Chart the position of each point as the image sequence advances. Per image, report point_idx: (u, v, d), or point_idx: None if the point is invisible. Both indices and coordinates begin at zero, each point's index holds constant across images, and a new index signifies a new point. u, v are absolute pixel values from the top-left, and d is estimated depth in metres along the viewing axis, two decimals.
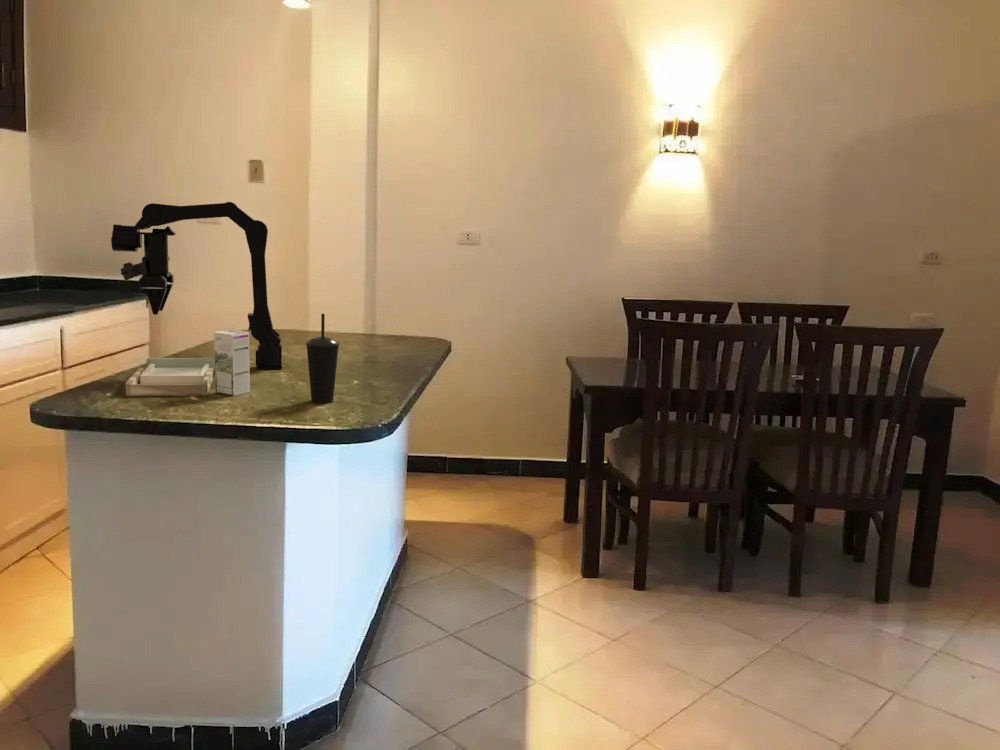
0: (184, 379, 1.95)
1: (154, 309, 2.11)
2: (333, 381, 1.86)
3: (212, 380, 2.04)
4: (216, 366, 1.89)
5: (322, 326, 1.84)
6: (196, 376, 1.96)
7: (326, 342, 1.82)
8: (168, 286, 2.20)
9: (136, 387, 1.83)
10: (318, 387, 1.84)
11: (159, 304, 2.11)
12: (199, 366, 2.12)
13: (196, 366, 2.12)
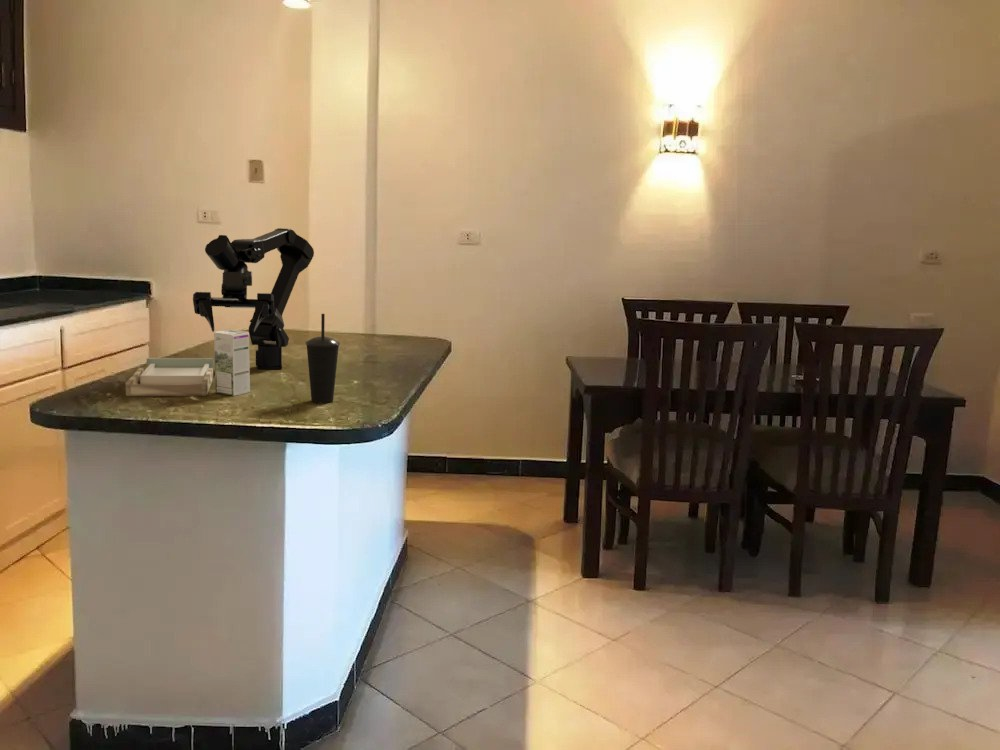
0: (184, 379, 1.95)
1: (256, 325, 1.99)
2: (333, 381, 1.86)
3: (212, 380, 2.04)
4: (216, 366, 1.89)
5: (322, 326, 1.84)
6: (196, 376, 1.96)
7: (326, 342, 1.82)
8: None
9: (136, 387, 1.83)
10: (319, 387, 1.84)
11: (257, 325, 2.01)
12: (199, 366, 2.12)
13: (196, 366, 2.12)
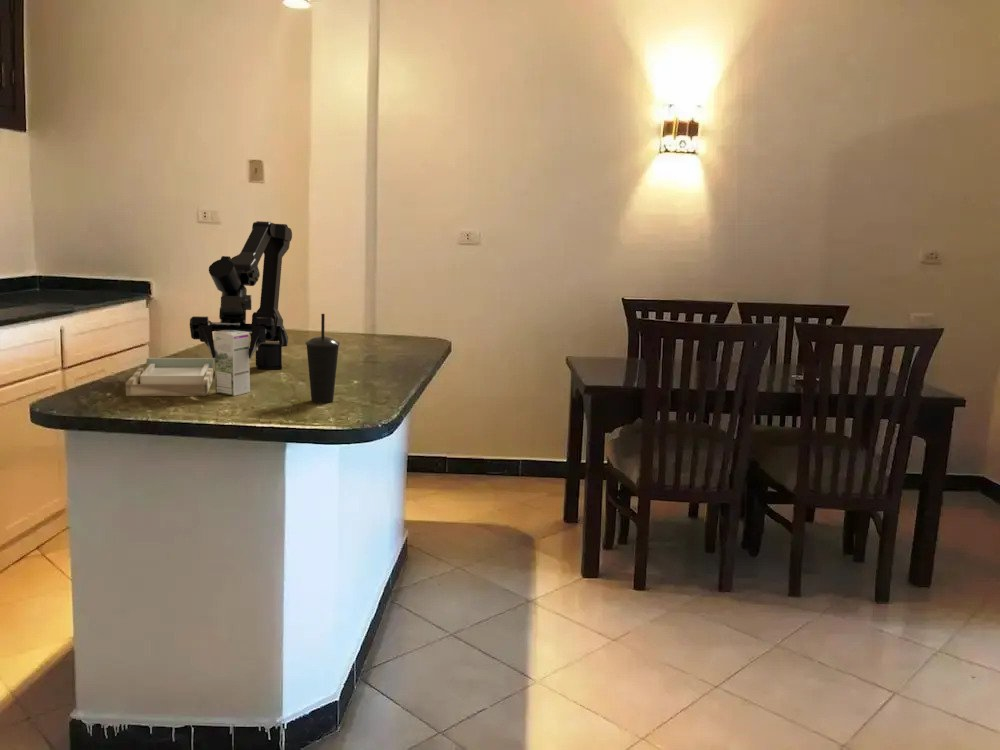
0: (184, 379, 1.95)
1: (252, 351, 1.91)
2: (333, 381, 1.86)
3: (212, 380, 2.04)
4: (216, 366, 1.89)
5: (322, 326, 1.84)
6: (196, 376, 1.96)
7: (326, 342, 1.82)
8: None
9: (136, 387, 1.83)
10: (318, 387, 1.84)
11: (254, 350, 1.93)
12: (199, 366, 2.12)
13: (196, 366, 2.12)
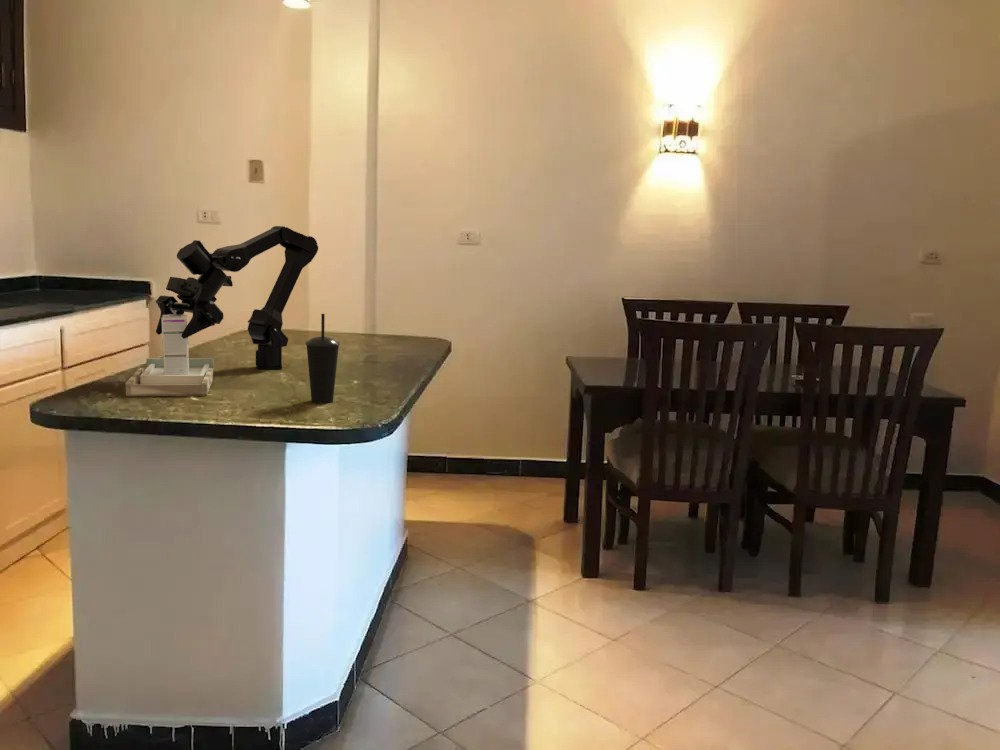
0: (184, 379, 1.95)
1: (187, 332, 1.96)
2: (333, 381, 1.86)
3: (212, 380, 2.04)
4: None
5: (322, 326, 1.84)
6: (196, 376, 1.96)
7: (326, 342, 1.82)
8: None
9: (136, 387, 1.83)
10: (318, 387, 1.84)
11: (194, 332, 1.98)
12: (199, 366, 2.12)
13: (196, 366, 2.11)
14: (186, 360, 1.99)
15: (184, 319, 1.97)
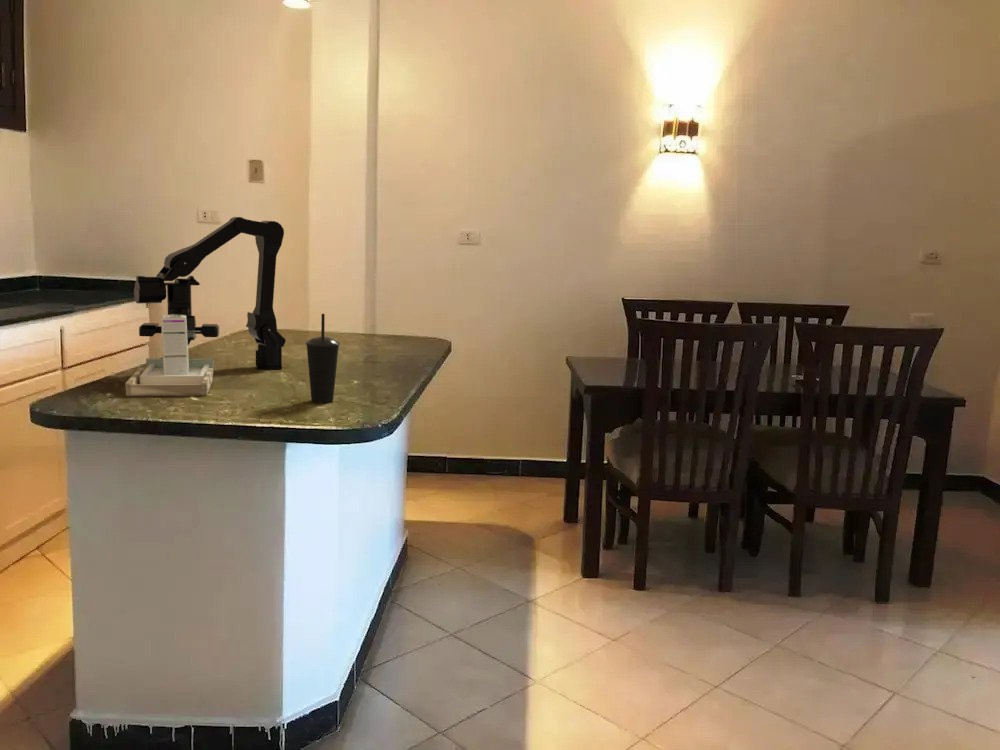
0: (184, 380, 1.95)
1: None
2: (333, 381, 1.86)
3: (212, 380, 2.04)
4: None
5: (322, 326, 1.84)
6: (196, 376, 1.95)
7: (326, 342, 1.82)
8: None
9: (136, 387, 1.83)
10: (318, 387, 1.84)
11: None
12: (199, 366, 2.11)
13: (196, 366, 2.11)
14: (186, 360, 1.98)
15: (184, 319, 1.97)
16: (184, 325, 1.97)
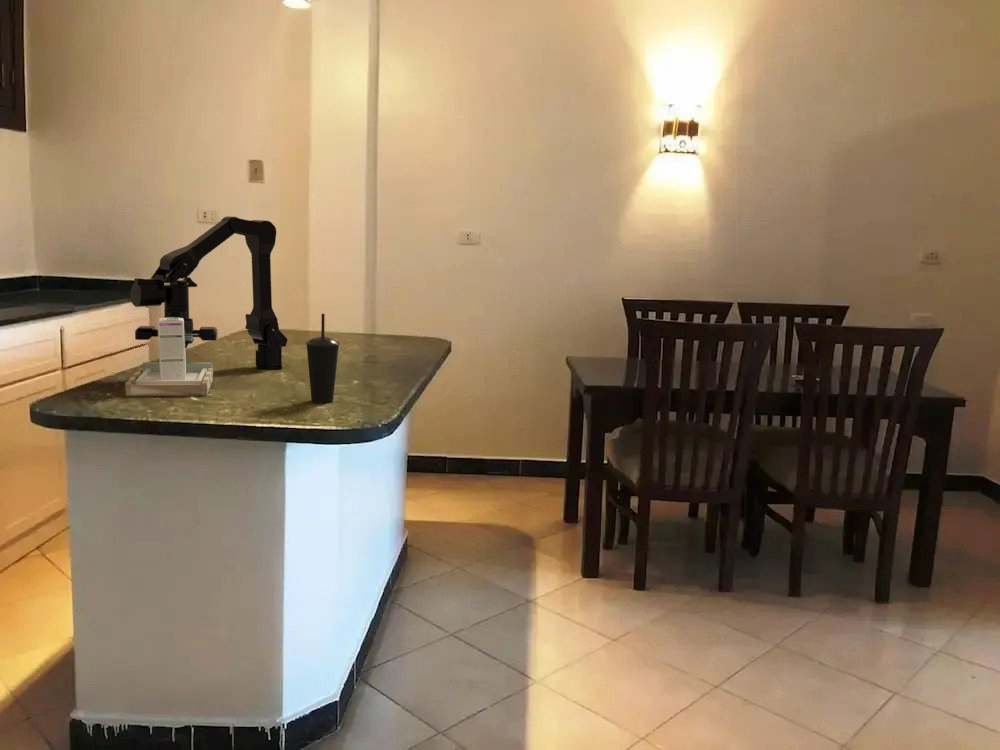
0: None
1: None
2: (333, 381, 1.86)
3: (212, 380, 2.04)
4: None
5: (322, 326, 1.84)
6: (193, 381, 1.90)
7: (326, 342, 1.82)
8: None
9: (136, 387, 1.83)
10: (318, 387, 1.84)
11: None
12: (197, 371, 2.05)
13: (193, 371, 2.05)
14: (183, 365, 1.93)
15: (181, 322, 1.91)
16: (181, 328, 1.91)
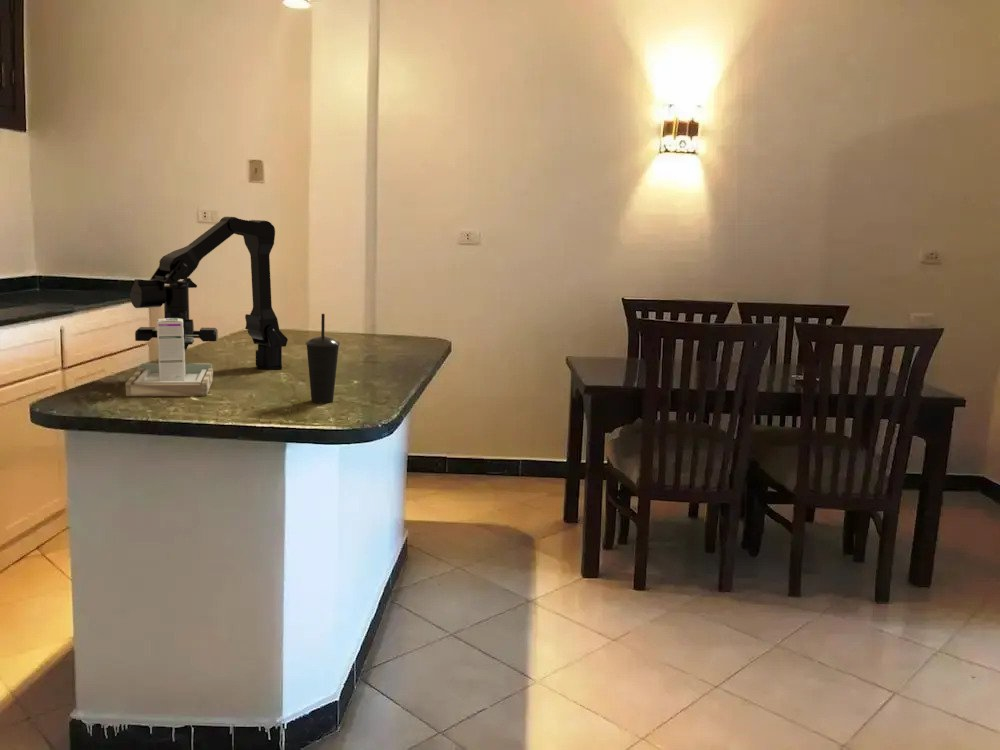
0: None
1: None
2: (333, 381, 1.86)
3: (212, 380, 2.04)
4: None
5: (322, 326, 1.84)
6: (193, 382, 1.88)
7: (326, 342, 1.82)
8: None
9: (136, 387, 1.83)
10: (319, 387, 1.84)
11: None
12: (196, 372, 2.04)
13: (193, 372, 2.04)
14: (182, 366, 1.91)
15: (180, 323, 1.90)
16: (180, 329, 1.90)
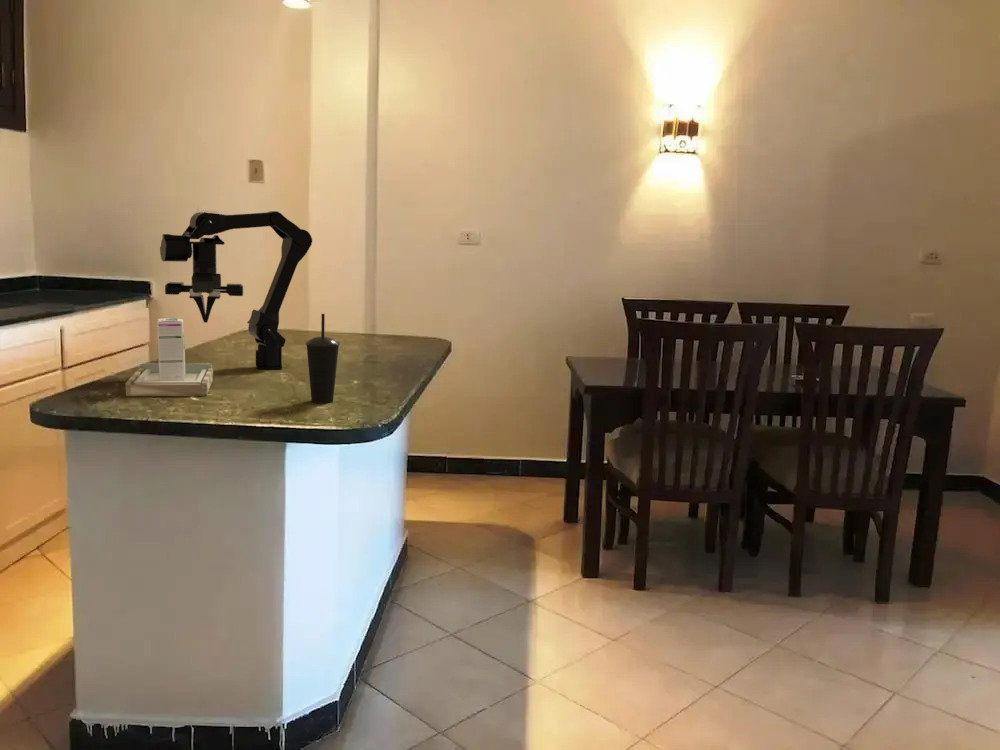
0: None
1: (208, 316, 2.14)
2: (333, 381, 1.86)
3: (212, 380, 2.04)
4: None
5: (322, 326, 1.84)
6: (193, 382, 1.88)
7: (326, 342, 1.82)
8: None
9: (136, 387, 1.83)
10: (319, 387, 1.84)
11: None
12: (196, 372, 2.04)
13: (193, 372, 2.04)
14: (182, 366, 1.91)
15: (180, 323, 1.90)
16: (180, 329, 1.90)
